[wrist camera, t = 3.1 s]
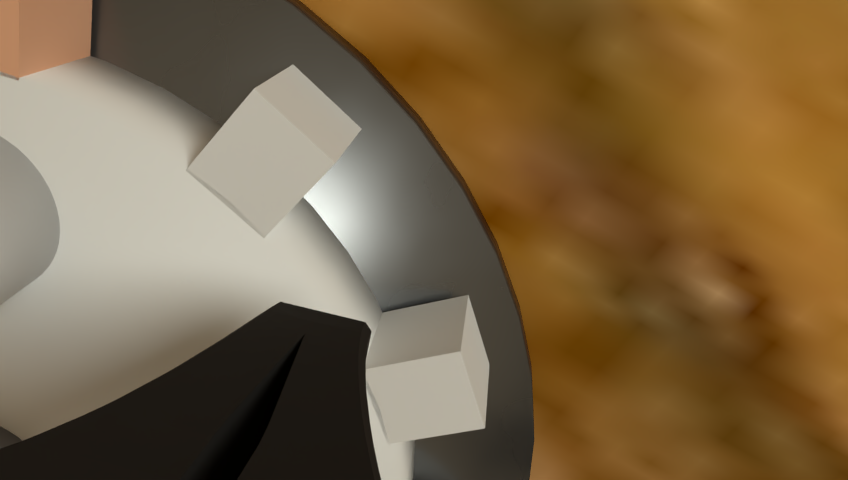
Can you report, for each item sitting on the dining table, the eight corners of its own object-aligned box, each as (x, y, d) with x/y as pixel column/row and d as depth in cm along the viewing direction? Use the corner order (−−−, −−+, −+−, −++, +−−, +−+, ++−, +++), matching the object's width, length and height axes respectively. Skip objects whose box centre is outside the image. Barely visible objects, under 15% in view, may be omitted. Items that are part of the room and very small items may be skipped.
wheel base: (409, 787, 21) (400, 850, 20) (-346, 576, 22) (-408, 622, 20) (695, 53, 12) (719, 71, 11) (-616, -291, 13) (-766, -319, 11)
